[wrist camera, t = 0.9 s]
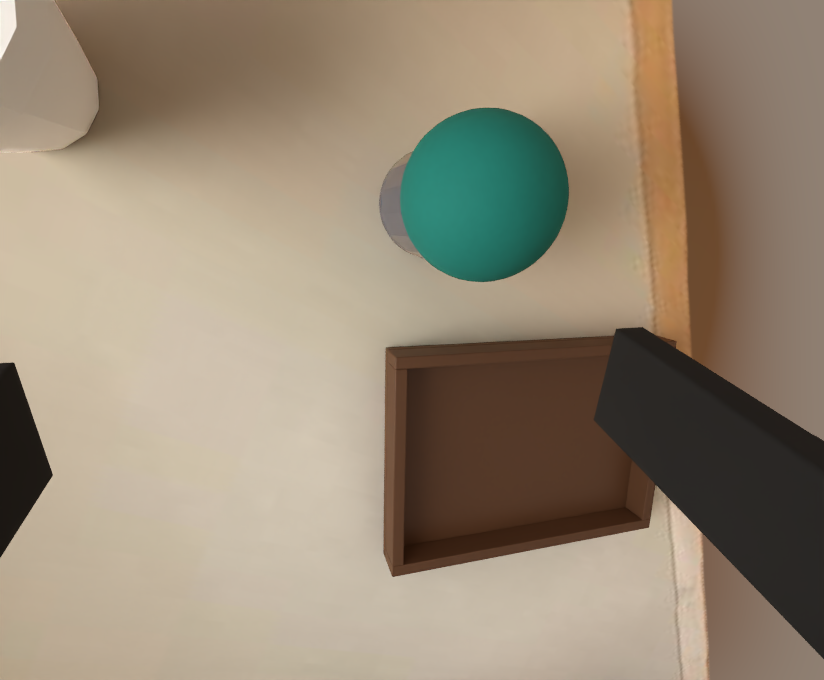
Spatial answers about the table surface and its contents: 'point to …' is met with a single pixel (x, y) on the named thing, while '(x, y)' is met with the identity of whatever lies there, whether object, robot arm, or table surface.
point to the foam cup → (42, 79)
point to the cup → (395, 207)
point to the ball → (484, 194)
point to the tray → (501, 452)
